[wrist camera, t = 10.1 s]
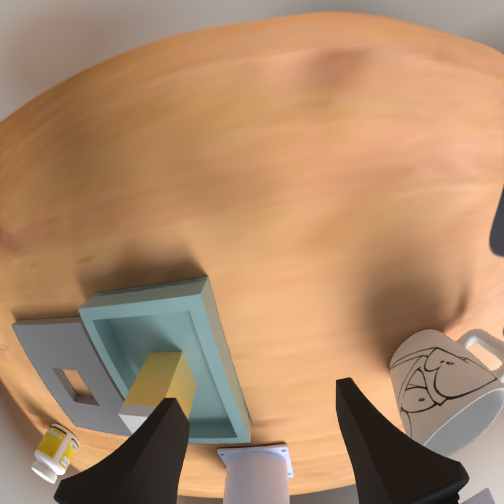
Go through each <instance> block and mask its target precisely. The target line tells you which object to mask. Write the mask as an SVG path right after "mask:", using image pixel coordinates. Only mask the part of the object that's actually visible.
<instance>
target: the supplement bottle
mask: <svg viewBox="0 0 504 504" xmlns="http://www.w3.org/2000/svg"><path fill="white" fill-rule="evenodd" d="M78 445H79V441H78V439H77V438H76V437H75V436H74V435H73V434H72V433H71V432H70V431H69V430H67V429H66V428H64V427H63V426H61V425H58V424H52V425H51V426H50V428H49V429H48V431H47V432H46V434H45V436H44V437H43V439H42V441H41V442H40V444H39V446H38V447H37V449H36V451H35V457H36V459H37V462H35V463H33V465H32V469H33V470H34V471H35V472H36V473H37V474H38V475H39V476H41V477H42V478H44V479H45V480H47V481H49V482H51V483H53V484H54V483H55V481H56V479H57V476H56V475H57V474H58V475H62V474H64V473H65V471H66V469H67V467H68V465H69V463H70V461H71V459H72V457H73V455H74V453H75V452H76V450H77V448H78Z"/></svg>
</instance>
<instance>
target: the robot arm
mask: <svg viewBox="0 0 504 504" xmlns="http://www.w3.org/2000/svg"><path fill="white" fill-rule="evenodd" d="M336 412H337V417H338V422H339V426H340V430H341V433H342V436H343V439H344V442H345V445H346V448H347V451H348V454H349V457H350V460H351V463H352V467H353V470H354V475H355V480H356V486H357V491H358V497H359V504H459V503H458V500H459V499H460V498H459V495H458V492H459V491H460V490H461V489H462V488H463V487H464V486H465V485H466V484H467V483H468V481H469V476H468V473H467V472H466V470H465V468H464V467H463V466H462V464H461V463H460V462H458V461H455V460H452V459H450V458H447V457H445V456H442V455H440V454H438V453H436V452H434V451H432V450H430V449H428V448H426V447H425V446H423V445H421V444H419V443H418V442H416V441H414V440H413V439H411V438H410V437H409V436H407V435H406V434H404V433H403V432H402V431H400V430H399V429H398V428H397V427H395V426H394V425H393V424H392V423H391V422H390V421H389V420H387V419H386V418H385V417H384V416H383V415H382V414H381V413H380V412H379V411H378V410H377V409H376V408H375V407H374V406H373V405H372V403H371V402H370V401H369V400H368V399H367V398H366V397H365V395H364V394H363V393H362V392H361V391H360V389H359V388H358V387H357V385H356V384H355V383H354V381H353V380H352V378H350V377H348V378H344V379H339V380H336ZM189 430H190V422H189V421H188V419H187V417H186V415H185V414H184V412H183V410H182V408H181V406H180V404H179V403H178V401H177V399H176V398H164V399H163V400H162V401H161V402H160V403H159V404H158V406H157V407H156V408H155V409H154V410H153V412H152V413H151V414H150V415H149V416H148V418H147V419H146V420H145V421H144V422H143V423H142V425H141V426H140V427H139V428H138V429H137V430H136V431H135V432H134V433H133V434H132V435H131V436H130V437H129V438H128V439H127V440H126V441H125V442H124V443H123V444H122V445H121V446H120V447H119V448H118V449H116V450H115V451H114V452H113V453H111V454H110V455H109V456H107V457H106V458H104V459H103V460H102V461H100V462H99V463H97V464H95V465H94V466H92V467H90V468H89V469H87V470H85V471H83V472H81V473H79V474H76V475H74V476H71V477H69V478H66V479H63V480H61V482H60V484H59V486H58V489H57V490H56V493H55V495H54V499H55V500H56V501H57V502H58V503H59V504H176V501H177V491H178V483H179V478H180V473H181V469H182V465H183V461H184V457H185V453H186V449H187V445H188V440H189ZM217 453H218V454H219V456H220V458H221V459H222V461H223V463H224V464H225V466H226V468H227V471H226V480H225V490H224V499H223V504H290V502H289V484H288V478H292V477H294V474H293V469H292V464H291V460H290V455H289V451H288V446H287V445H286V444H280V445H271V446H260V447H245V448H220V449H218V450H217ZM461 504H495V502H494V500H493V498H492V496H491V493H490V491H489V489H488V488H485V489H484V490H482V491H481V492H479V493H478V494H476V495H475V496H473V497H471V498H469V499H468V500H466V501H465V502H463V503H461Z"/></svg>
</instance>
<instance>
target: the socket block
mask: <svg viewBox="0 0 504 504" xmlns="http://www.w3.org/2000/svg"><path fill="white" fill-rule="evenodd" d="M11 326H12V328H13V330H14V332H15V334H16V336H17V338H18V340H19V342H20V344H21V345H22V347H23V349H24V351H25V353H26V355H27V356H28V358H29V360H30V362H31V363H32V365H33V367H34V368H35V370H36V372H37V373H38V375H39V376H40V378H41V380H42V381H43V383H44V384H45V386H46V387H47V389H48V390H49V392H50V393H51V395H52V396H53V397H54V399H55V400H56V402H57V403H58V404H59V406H60V407H61V408H62V410H63V411H64V412H65V414H66V415H67V416H68V418H69V419H70V420H71V421H72V423H73V424H74V425H75V426H76V427H81V428H85V429H90V430H94V431H99V432H105V433H110V434H116V435H123V436H131V435H132V433H131V431H130V430H129V429H128V427H127V426H126V425H125V423H124V422H123V420H122V419H121V417H120V416H119V415H118V413H119V411H120V409H121V407H122V405H123V403H124V401H125V398H124V397H123V395H122V394H121V392H120V390H119V389H118V387H117V385H116V384H115V382H114V380H113V379H112V377H111V375H110V373H109V372H108V370H107V368H106V366H105V364H104V363H103V361H102V359H101V357H100V355H99V353H98V351H97V349H96V347H95V345H94V343H93V341H92V339H91V337H90V335H89V333H88V331H87V329H86V327H85V325H84V322H83V320H82V318H81V316H80V317H66V318H51V319H33V320H17V321H16V322H15V323H13V324H12V325H11ZM62 369H69V370H77V371H78V373H79V375H80V376H81V378H82V379H83V381H84V383H85V384H86V386H87V387H88V389H89V391H90V392H91V394H92V395H93V397H94V398H91V397H84V396H78V394H77V393H76V391H75V390H74V388H73V387H72V385H71V384H70V382H69V381H68V379H67V377H66V376H65V374H64V373H63V371H62Z"/></svg>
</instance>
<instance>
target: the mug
mask: <svg viewBox="0 0 504 504" xmlns="http://www.w3.org/2000/svg"><path fill="white" fill-rule="evenodd" d="M474 343H476V344H479V345H481V346H482V347H484V348H485V349H486V350H488V351H489V352H491V353H492V354H494V355H495V356H496V357H497V358H499V359H500V360H501V361H502V363H503V364H502V366H501V367H499V368H498V369H496V370H494V371H490V370H489V369H488V368H487V367H486V366H485V365H484V364H483V363H482V362H481V361H480V360H479V359H478V358H476V357H475V356H474V355H473V354H472V353H471V352H469V351H468V350H467V349H468V347H469V346H470V345H472V344H474ZM389 369H390V377H391V381H392V385H393V389H394V393H395V397H396V402H397V406H398V410H399V414H400V417H401V420H402V423H403V426H404V429H405V432H406V435H407V436H409V437H410V438H411V439H413V440H414V441H416V442H418V443H419V444H421V445H423V446H425V447H426V448H428V449H430V450H432V451H434V452H436V453H438V454H440V455H442V456H445V457H449V456H451V455H453V454H455V453H456V452H458V451H459V450H461V449H463V448H464V447H465V446H467V445H468V444H470V443H471V442H472V441H474V440H475V439H476V438H477V437H478V436H479V435H480V434H482V433H483V432H484V430H486V429H487V428H488V426H489V425H490V424H491V423H492V422H493V421H494V420H495V418H496V417H497V415H498V414H499V413H500V411H501V409H502V408H503V406H504V384H503V382H504V342H503V341H501V340H499V339H497V338H495V337H494V336H492V335H490V334H489V333H487V332H486V331H484V330H481V329H473V330H470V331H468V332H467V333H465V334H464V335H463V336H461V337H460V338H459V339H458V340H457V341H454V340H452V339H451V338H449V337H448V336H446V335H445V334H443V333H442V332H440V331H438V330H434V329H426V330H422V331H419V332H417V333H415V334H413V335H412V336H410V337H409V338H407V339H406V340H405V341H404V342H403V343H402V344H401V345H400V346H399V347H398V349H397V350H396V351H395V353H394V355H393V357H392V359H391V362H390V368H389Z"/></svg>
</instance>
